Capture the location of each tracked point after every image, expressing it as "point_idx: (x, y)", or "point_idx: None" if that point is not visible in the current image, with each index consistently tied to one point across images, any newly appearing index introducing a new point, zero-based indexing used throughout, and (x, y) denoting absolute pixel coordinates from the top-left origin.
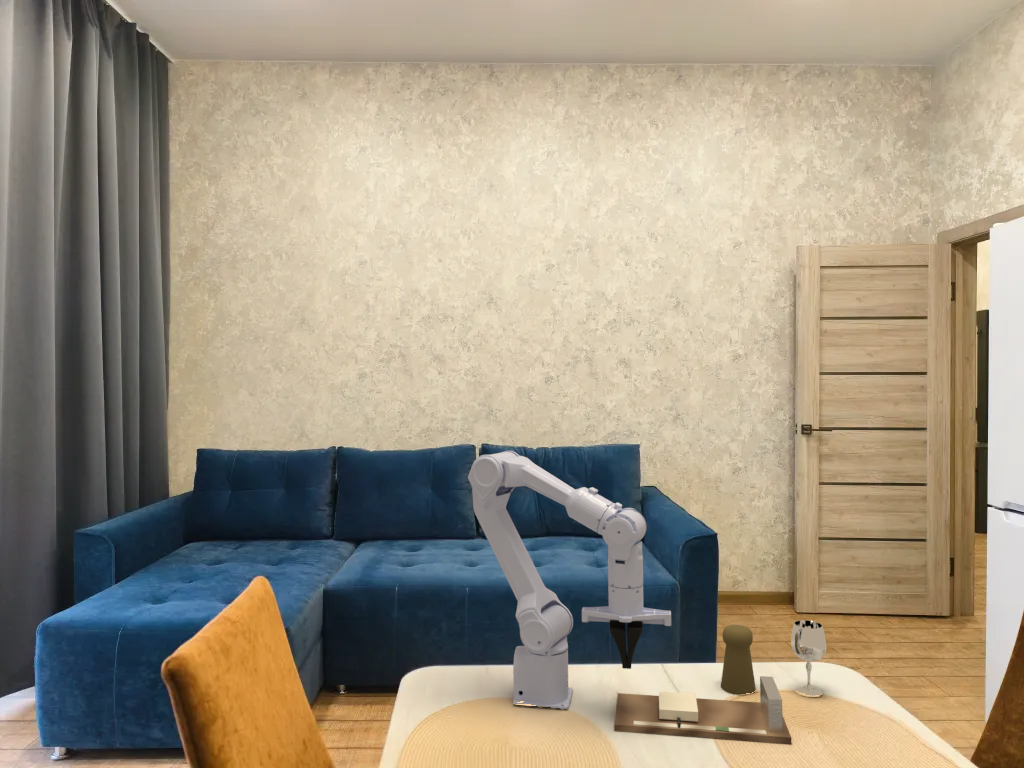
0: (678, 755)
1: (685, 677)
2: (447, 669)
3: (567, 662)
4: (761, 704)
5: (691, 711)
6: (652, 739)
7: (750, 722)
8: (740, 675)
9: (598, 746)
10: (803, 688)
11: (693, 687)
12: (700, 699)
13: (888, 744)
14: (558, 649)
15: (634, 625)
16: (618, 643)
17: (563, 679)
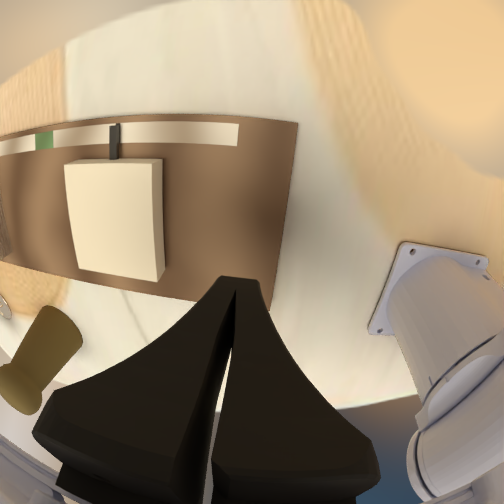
0: (142, 25)
1: None
2: None
3: (423, 352)
4: (3, 242)
5: (76, 164)
6: (193, 84)
7: (13, 184)
8: (35, 329)
9: (343, 44)
10: (2, 309)
11: (118, 339)
12: (87, 278)
13: None
14: (479, 361)
15: (119, 488)
16: (285, 369)
17: (427, 304)
